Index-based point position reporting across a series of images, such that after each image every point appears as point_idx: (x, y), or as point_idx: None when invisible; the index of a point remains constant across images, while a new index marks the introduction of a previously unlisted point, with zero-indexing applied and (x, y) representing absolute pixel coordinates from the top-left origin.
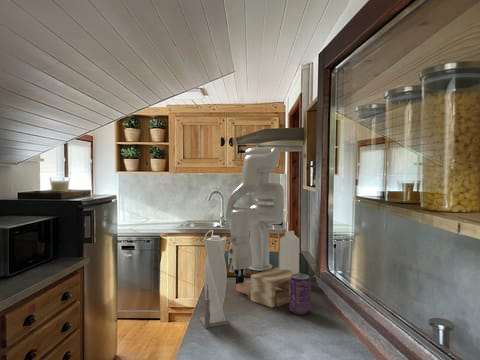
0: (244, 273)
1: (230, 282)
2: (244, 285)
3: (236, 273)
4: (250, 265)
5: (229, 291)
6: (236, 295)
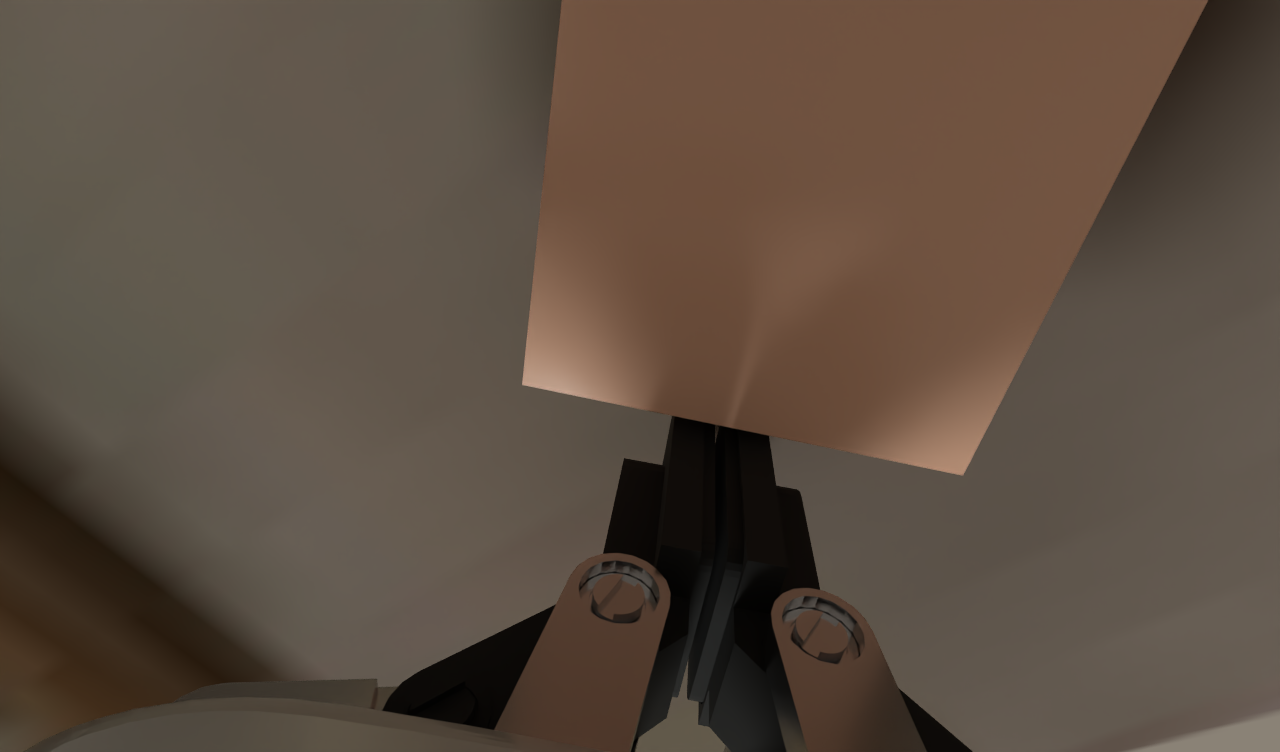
0: (599, 588)
1: None
2: (967, 249)
3: (952, 739)
4: (218, 746)
5: (1027, 468)
6: (1246, 216)
